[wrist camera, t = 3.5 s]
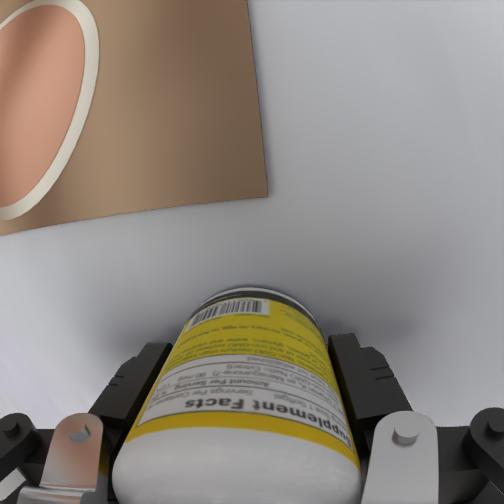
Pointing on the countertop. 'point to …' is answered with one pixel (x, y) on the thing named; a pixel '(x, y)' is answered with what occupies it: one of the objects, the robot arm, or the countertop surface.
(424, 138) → the countertop surface
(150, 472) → the supplement bottle
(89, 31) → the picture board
